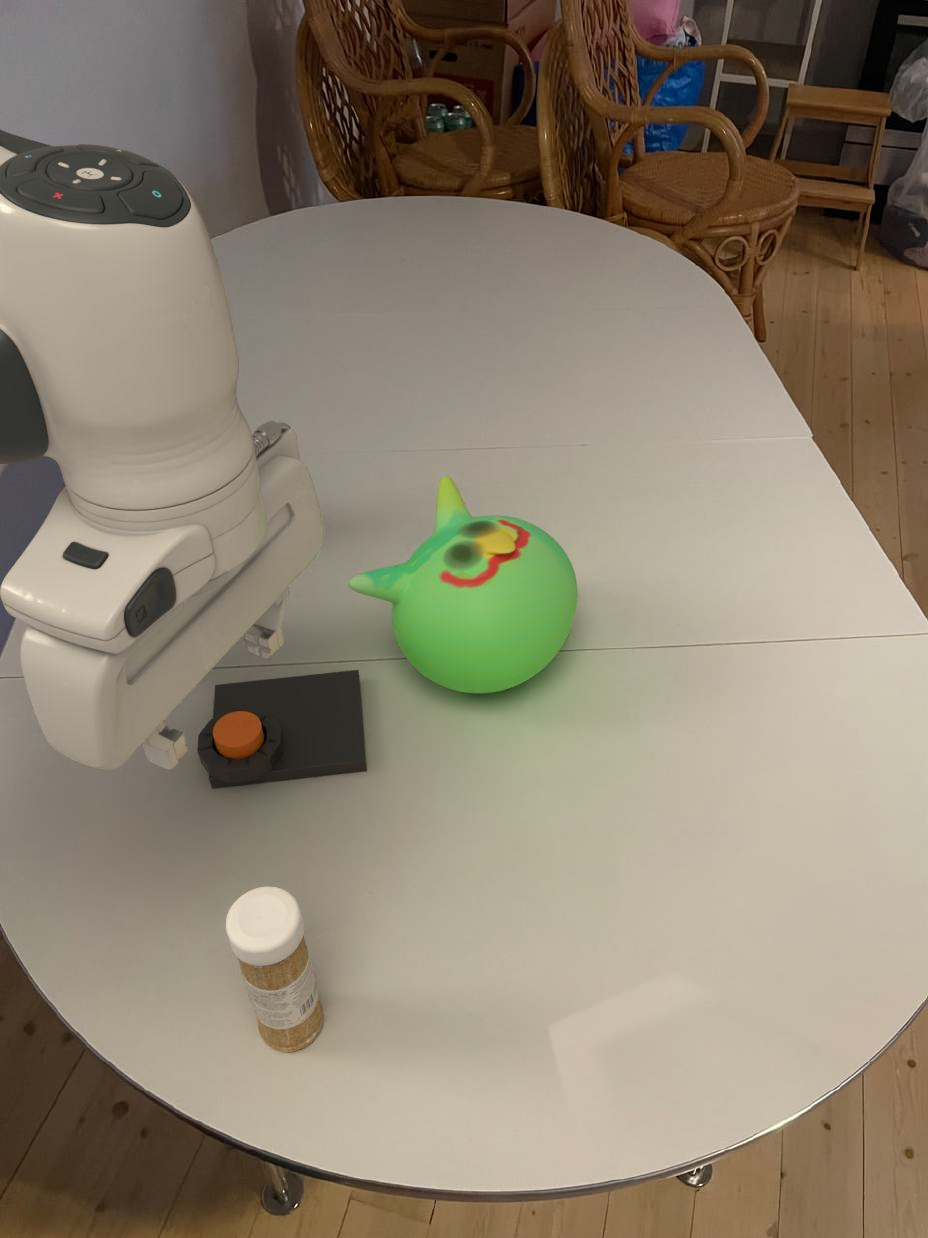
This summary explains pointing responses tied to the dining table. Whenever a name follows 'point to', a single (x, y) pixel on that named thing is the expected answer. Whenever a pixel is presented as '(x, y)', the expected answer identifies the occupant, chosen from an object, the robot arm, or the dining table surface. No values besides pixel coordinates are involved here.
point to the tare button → (238, 735)
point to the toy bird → (478, 598)
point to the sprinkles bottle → (276, 966)
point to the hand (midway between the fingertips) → (220, 701)
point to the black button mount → (290, 729)
